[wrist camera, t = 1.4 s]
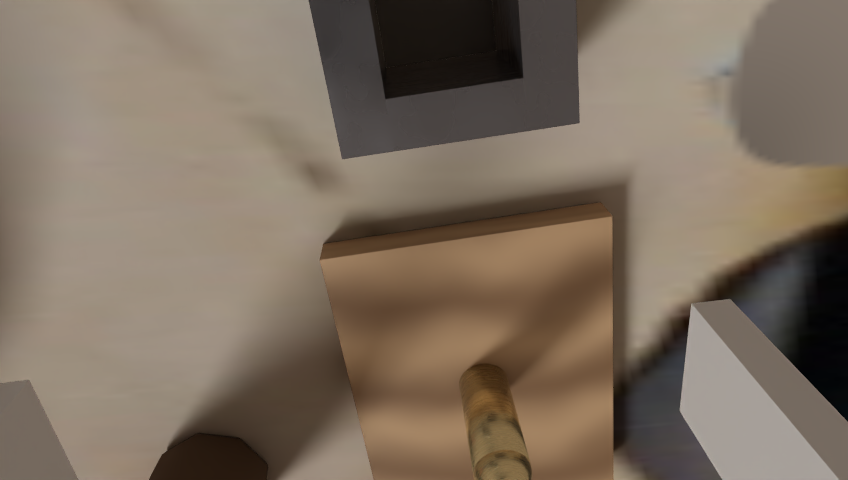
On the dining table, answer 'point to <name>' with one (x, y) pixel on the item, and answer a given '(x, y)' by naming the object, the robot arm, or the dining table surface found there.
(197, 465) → the beer bottle
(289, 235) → the dining table surface
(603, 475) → the board
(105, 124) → the dining table surface
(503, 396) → the post
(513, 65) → the grey square socket block
